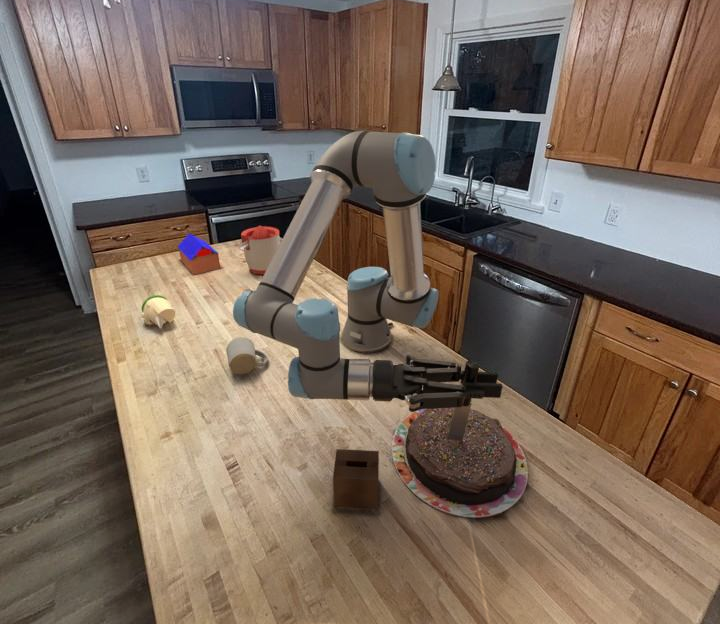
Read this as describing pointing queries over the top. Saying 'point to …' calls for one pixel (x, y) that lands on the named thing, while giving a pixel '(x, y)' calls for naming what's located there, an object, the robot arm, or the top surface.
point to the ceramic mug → (243, 356)
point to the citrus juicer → (259, 247)
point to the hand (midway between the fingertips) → (498, 384)
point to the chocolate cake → (460, 463)
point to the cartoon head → (157, 310)
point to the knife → (463, 412)
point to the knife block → (356, 479)
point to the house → (198, 255)
